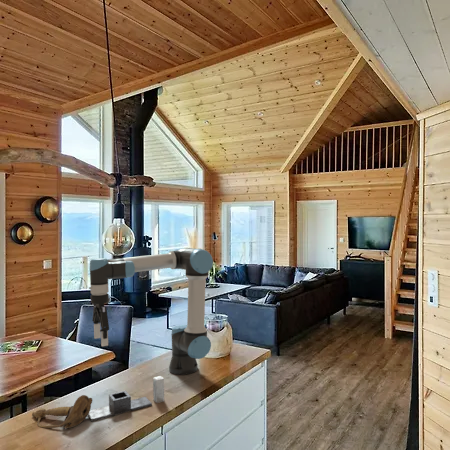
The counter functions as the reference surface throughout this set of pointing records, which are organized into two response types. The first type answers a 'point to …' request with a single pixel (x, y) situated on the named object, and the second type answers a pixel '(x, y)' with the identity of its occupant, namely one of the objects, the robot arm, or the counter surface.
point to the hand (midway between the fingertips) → (101, 341)
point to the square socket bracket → (119, 406)
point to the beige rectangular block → (158, 389)
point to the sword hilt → (67, 413)
